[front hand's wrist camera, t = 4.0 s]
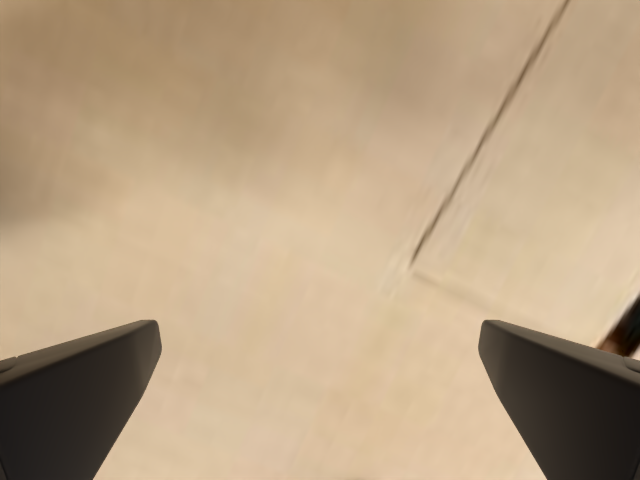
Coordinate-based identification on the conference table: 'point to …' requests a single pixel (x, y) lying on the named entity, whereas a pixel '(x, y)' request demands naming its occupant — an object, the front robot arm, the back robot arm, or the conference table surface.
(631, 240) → the conference table surface
